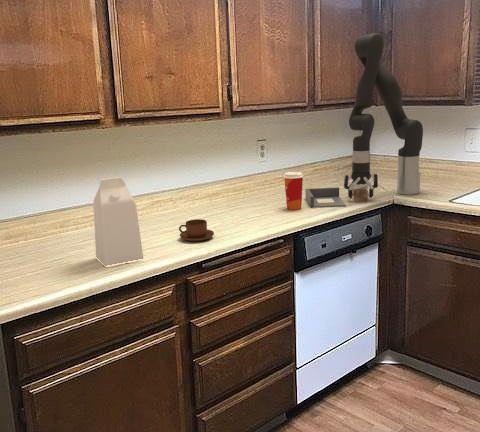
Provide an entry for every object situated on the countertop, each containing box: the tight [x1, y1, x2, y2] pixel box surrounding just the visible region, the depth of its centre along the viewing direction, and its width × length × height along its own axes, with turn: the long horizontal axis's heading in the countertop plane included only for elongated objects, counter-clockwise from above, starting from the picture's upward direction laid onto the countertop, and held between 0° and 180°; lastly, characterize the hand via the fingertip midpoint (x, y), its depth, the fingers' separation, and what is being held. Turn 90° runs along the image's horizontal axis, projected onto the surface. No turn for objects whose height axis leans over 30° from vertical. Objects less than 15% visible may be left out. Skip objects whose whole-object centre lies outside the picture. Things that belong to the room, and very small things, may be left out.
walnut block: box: [353, 189, 369, 203], centre depth 236 cm, size 5×5×5 cm
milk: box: [92, 176, 144, 266], centre depth 168 cm, size 12×12×26 cm
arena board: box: [304, 187, 347, 209], centre depth 236 cm, size 15×18×5 cm
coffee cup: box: [283, 171, 304, 211], centre depth 226 cm, size 8×8×15 cm
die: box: [348, 178, 369, 196], centre depth 249 cm, size 8×9×10 cm
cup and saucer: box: [178, 218, 215, 242], centre depth 190 cm, size 12×12×6 cm
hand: (360, 197), depth 236 cm, fingers open, 8 cm apart
